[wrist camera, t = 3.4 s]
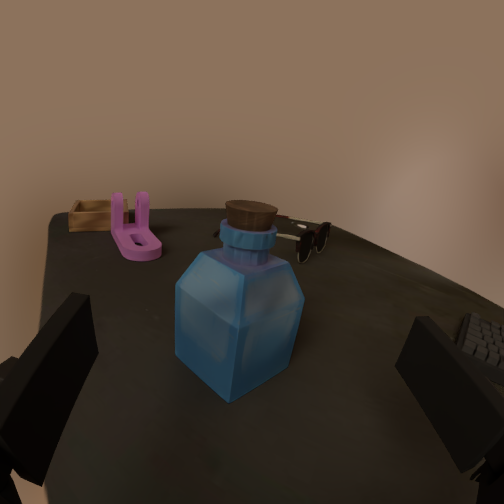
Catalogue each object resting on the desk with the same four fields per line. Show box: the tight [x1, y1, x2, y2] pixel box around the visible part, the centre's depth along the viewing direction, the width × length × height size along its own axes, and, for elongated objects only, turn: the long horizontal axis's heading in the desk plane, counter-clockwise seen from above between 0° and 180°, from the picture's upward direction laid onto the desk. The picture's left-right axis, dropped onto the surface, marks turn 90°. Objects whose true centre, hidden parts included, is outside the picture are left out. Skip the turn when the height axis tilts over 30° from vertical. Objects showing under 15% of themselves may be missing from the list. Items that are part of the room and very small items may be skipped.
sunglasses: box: [213, 215, 332, 263], centre depth 51 cm, size 14×16×5 cm
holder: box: [69, 199, 129, 232], centre depth 50 cm, size 11×11×3 cm
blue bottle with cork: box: [175, 200, 305, 404], centre depth 20 cm, size 6×6×12 cm
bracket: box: [111, 192, 162, 261], centre depth 41 cm, size 13×6×7 cm, turn 34°
